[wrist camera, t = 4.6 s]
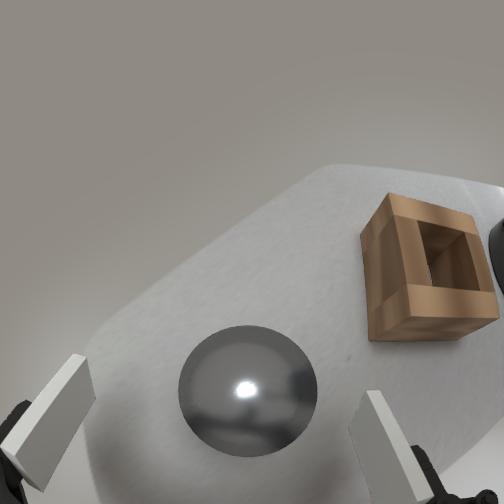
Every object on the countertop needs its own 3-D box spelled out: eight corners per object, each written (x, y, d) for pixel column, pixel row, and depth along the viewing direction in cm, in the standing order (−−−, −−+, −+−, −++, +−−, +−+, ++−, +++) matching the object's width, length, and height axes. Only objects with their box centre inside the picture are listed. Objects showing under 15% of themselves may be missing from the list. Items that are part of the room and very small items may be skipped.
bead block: (439, 248, 26) (472, 215, 21) (456, 339, 21) (500, 317, 16) (360, 234, 26) (388, 192, 21) (368, 340, 21) (410, 316, 16)
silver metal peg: (265, 374, 19) (319, 331, 9) (260, 429, 17) (312, 458, 7) (207, 367, 19) (189, 317, 8) (201, 422, 17) (170, 446, 6)
